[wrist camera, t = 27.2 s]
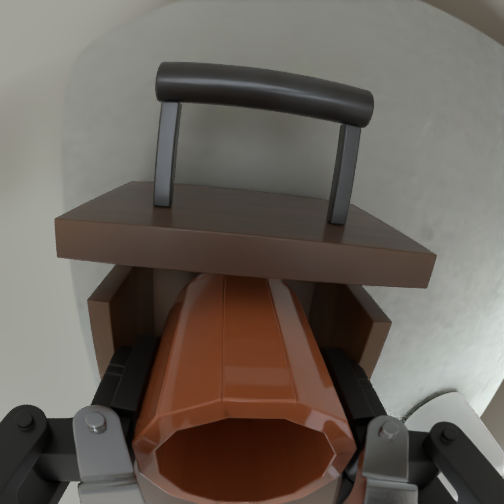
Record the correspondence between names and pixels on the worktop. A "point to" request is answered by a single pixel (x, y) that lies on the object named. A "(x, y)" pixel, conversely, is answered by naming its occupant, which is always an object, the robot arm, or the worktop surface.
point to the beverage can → (463, 416)
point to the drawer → (243, 224)
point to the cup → (240, 398)
